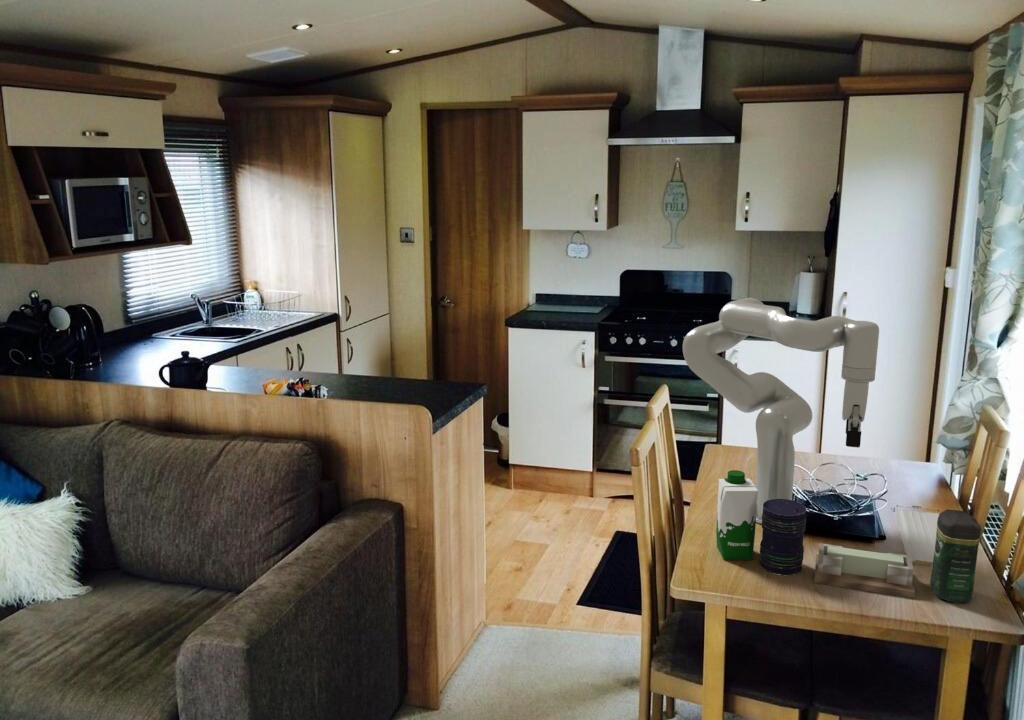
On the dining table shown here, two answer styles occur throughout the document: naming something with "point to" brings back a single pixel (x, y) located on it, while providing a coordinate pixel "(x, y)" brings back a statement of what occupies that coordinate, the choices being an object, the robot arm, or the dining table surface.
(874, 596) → the dining table surface
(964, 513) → the coffee jar
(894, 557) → the pale green long block
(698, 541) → the dining table surface
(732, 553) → the milk carton
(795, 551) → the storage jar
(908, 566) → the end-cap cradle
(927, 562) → the baseboard molding
